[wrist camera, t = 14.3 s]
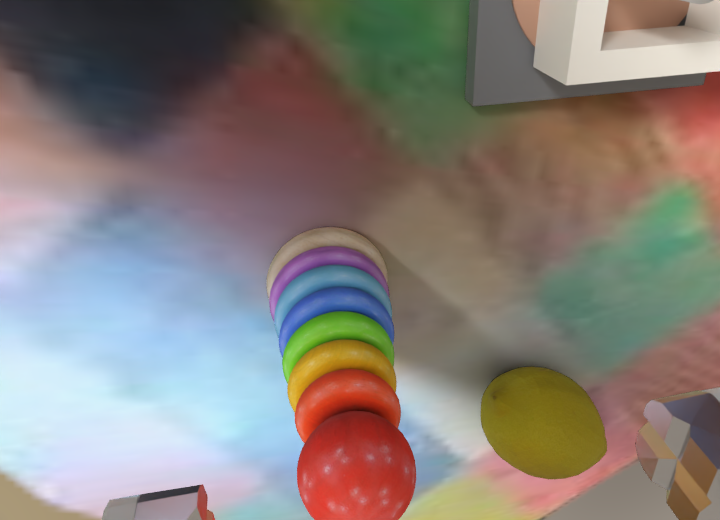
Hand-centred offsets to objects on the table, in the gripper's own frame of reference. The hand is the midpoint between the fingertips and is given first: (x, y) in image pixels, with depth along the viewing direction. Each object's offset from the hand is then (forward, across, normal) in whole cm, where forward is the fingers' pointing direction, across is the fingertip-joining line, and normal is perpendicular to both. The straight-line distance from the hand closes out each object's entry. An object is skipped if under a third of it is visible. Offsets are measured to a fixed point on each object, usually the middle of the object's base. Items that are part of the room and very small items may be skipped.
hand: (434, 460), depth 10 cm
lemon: (+25, -15, +26) cm, 39 cm away
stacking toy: (+26, 0, +13) cm, 29 cm away
